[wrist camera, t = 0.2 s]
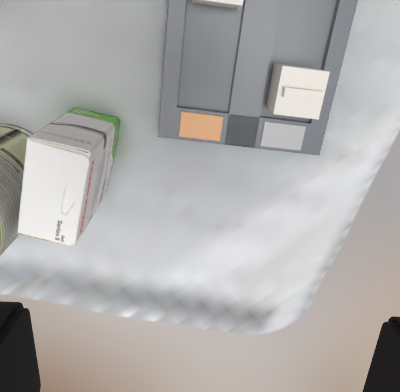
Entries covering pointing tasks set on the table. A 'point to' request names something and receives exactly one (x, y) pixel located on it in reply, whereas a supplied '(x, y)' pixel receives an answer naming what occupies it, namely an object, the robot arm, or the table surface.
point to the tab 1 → (221, 3)
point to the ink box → (66, 175)
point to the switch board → (248, 69)
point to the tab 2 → (297, 90)
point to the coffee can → (11, 180)
